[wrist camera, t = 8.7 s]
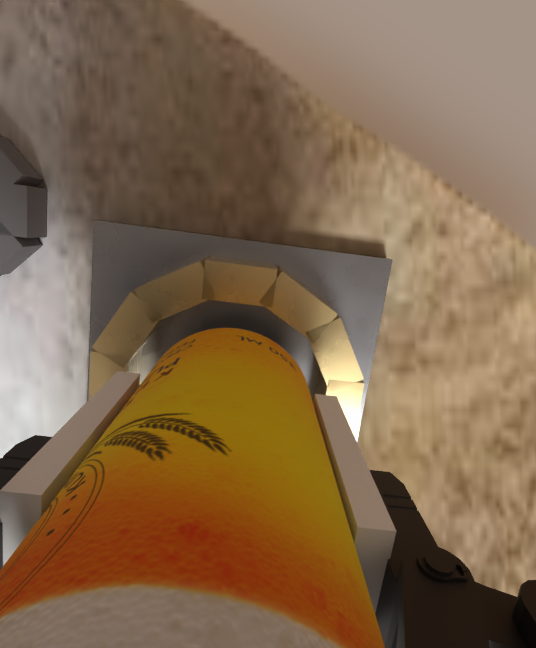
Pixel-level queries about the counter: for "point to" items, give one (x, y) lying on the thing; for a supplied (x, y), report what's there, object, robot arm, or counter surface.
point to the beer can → (197, 519)
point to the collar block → (234, 304)
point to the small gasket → (19, 208)
